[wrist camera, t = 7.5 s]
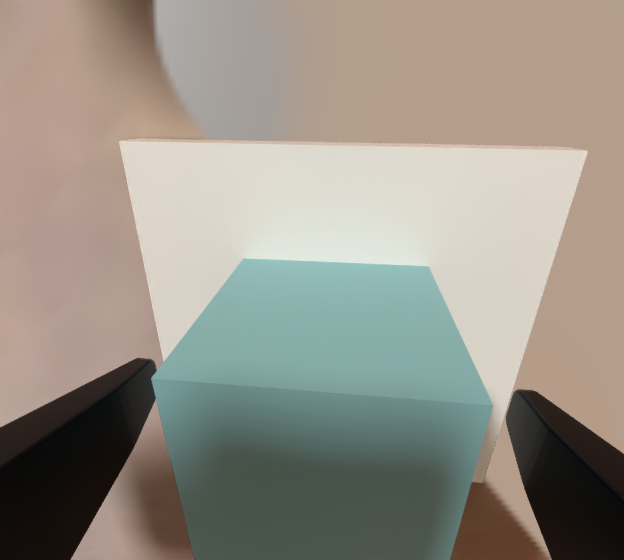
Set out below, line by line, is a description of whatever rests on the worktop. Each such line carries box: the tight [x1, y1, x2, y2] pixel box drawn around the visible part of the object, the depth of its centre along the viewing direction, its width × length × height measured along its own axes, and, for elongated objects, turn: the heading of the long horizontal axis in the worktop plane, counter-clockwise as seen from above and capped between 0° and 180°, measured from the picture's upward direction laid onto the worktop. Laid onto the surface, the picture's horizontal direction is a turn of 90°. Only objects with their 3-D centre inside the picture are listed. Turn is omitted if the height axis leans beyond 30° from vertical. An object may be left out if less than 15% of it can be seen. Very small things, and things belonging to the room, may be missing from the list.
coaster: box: [119, 138, 588, 483], centre depth 11 cm, size 11×11×1 cm
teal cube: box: [151, 258, 493, 560], centre depth 9 cm, size 5×5×5 cm
